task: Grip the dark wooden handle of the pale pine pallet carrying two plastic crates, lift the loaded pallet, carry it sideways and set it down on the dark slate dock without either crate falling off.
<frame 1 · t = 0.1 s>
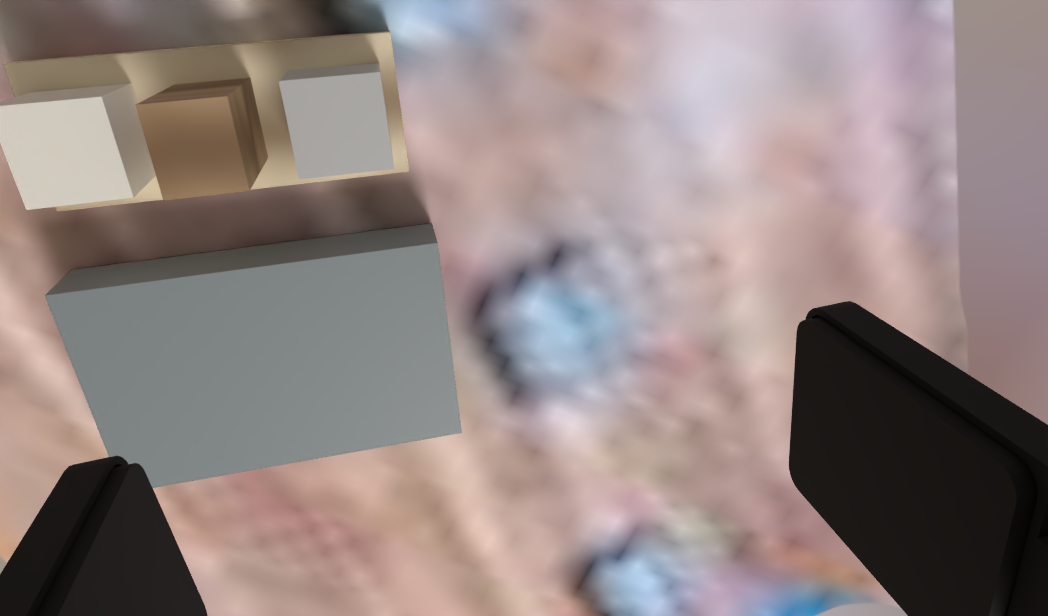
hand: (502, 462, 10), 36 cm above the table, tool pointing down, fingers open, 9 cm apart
crate A: (96, 134, 38), point 1 cm above the table
pallet: (229, 116, 41), on the table, touching crate B
crate B: (342, 111, 41), point 1 cm above the table, touching pallet
dock: (282, 342, 47), on the table
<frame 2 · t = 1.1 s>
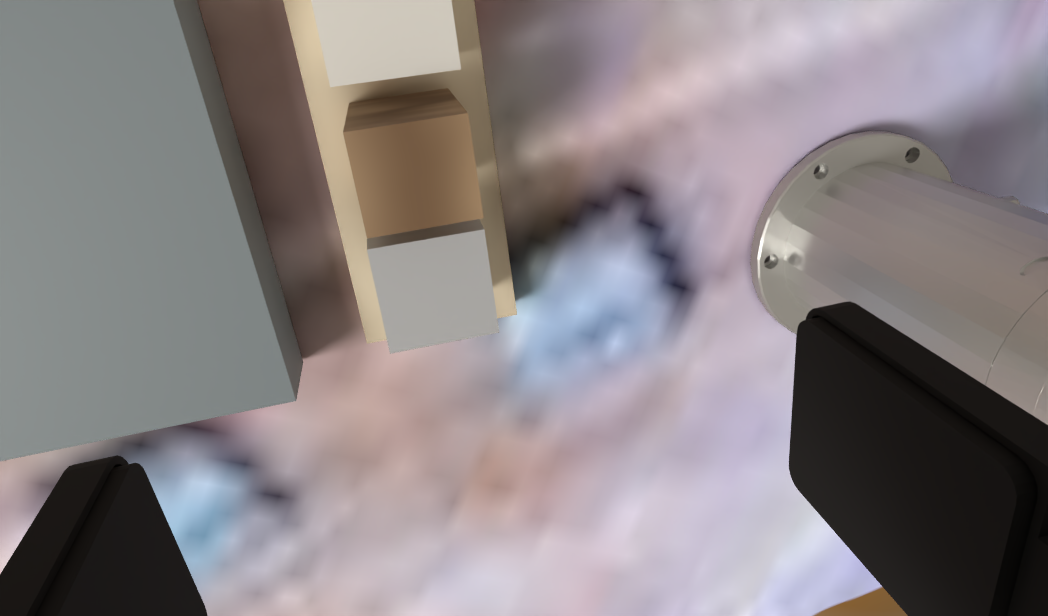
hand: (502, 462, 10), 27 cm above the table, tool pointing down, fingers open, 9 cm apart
crate A: (381, 4, 30), point 1 cm above the table
pallet: (405, 131, 34), on the table, touching crate B
crate B: (427, 254, 35), point 1 cm above the table, touching pallet
dock: (86, 184, 32), on the table
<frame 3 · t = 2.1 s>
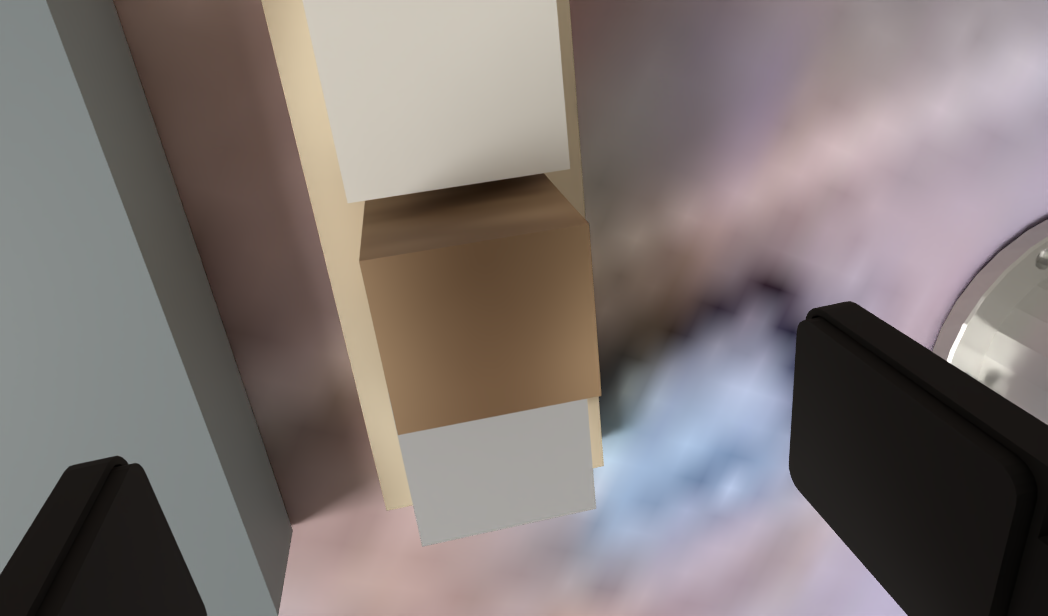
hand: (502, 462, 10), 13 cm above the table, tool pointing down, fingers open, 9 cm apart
crate A: (429, 51, 19), point 1 cm above the table, touching pallet
pallet: (450, 207, 23), on the table, touching crate A, crate B
crate B: (476, 366, 23), point 1 cm above the table, touching pallet
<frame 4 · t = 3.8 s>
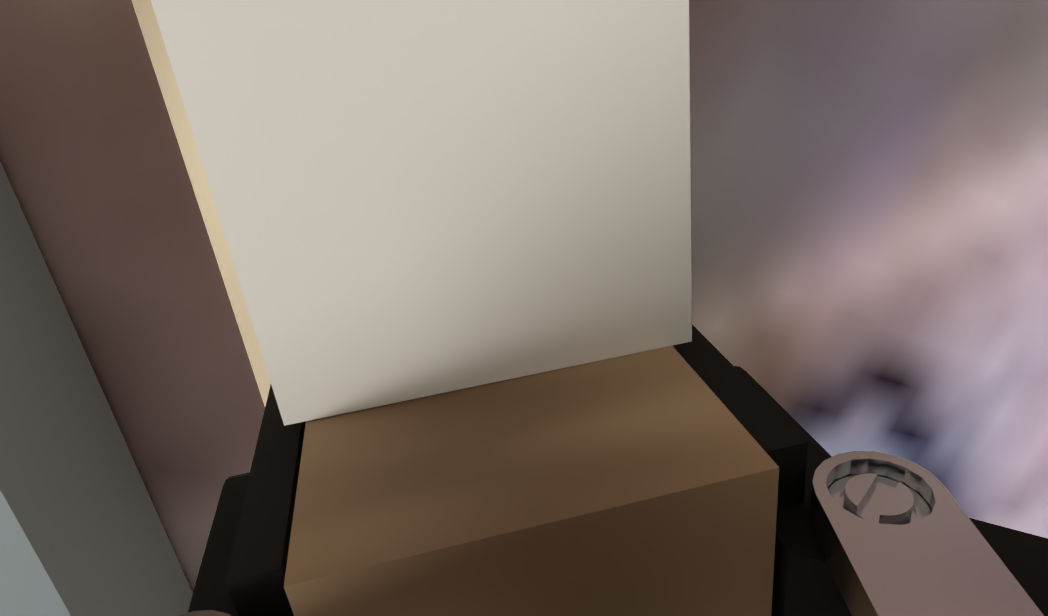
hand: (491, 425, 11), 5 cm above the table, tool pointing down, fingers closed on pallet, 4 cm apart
crate A: (427, 108, 12), point 2 cm above the table, touching pallet
pallet: (454, 302, 15), on the table, touching crate A, crate B, gripper
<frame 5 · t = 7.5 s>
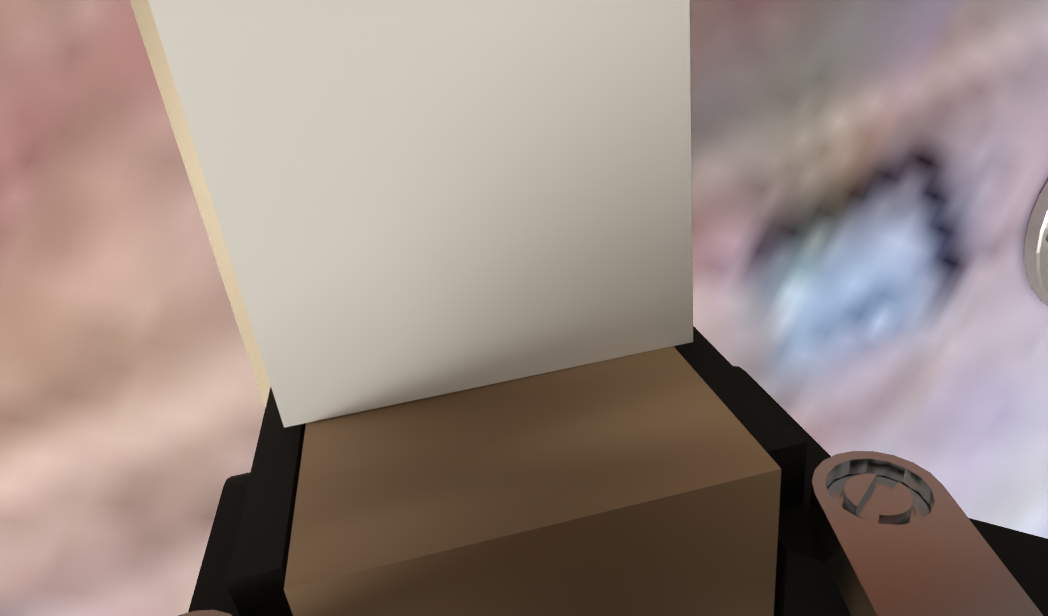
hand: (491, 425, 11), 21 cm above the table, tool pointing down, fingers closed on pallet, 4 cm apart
crate A: (426, 108, 12), point 18 cm above the table, touching pallet
pallet: (454, 303, 15), point 16 cm above the table, touching crate A, crate B, gripper
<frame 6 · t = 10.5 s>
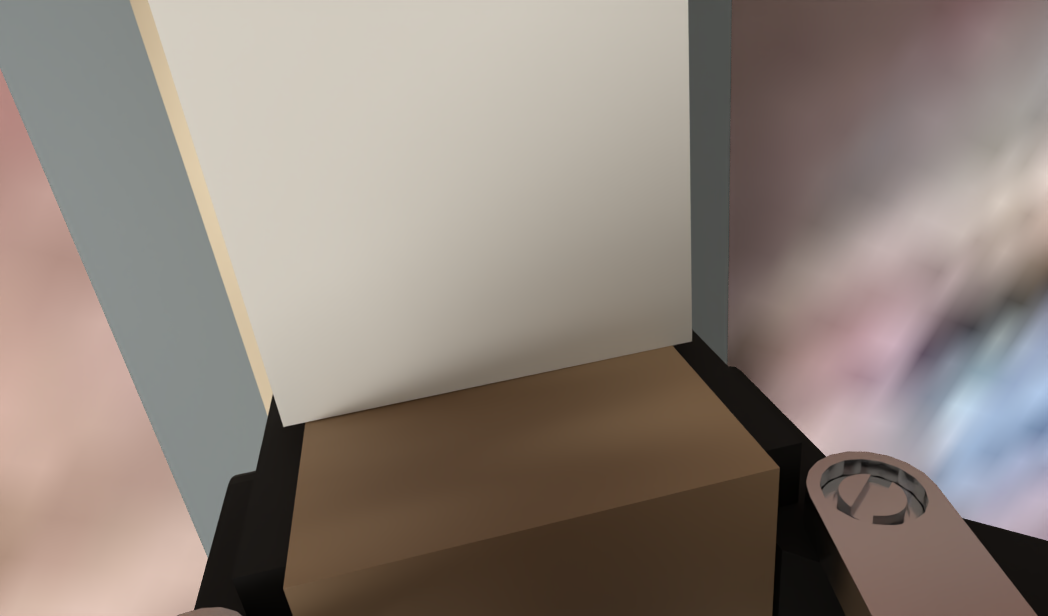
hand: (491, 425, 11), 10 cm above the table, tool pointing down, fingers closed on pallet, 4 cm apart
crate A: (426, 108, 12), point 7 cm above the table, touching pallet
pallet: (454, 302, 15), point 5 cm above the table, touching crate A, crate B, gripper
dock: (427, 231, 19), on the table
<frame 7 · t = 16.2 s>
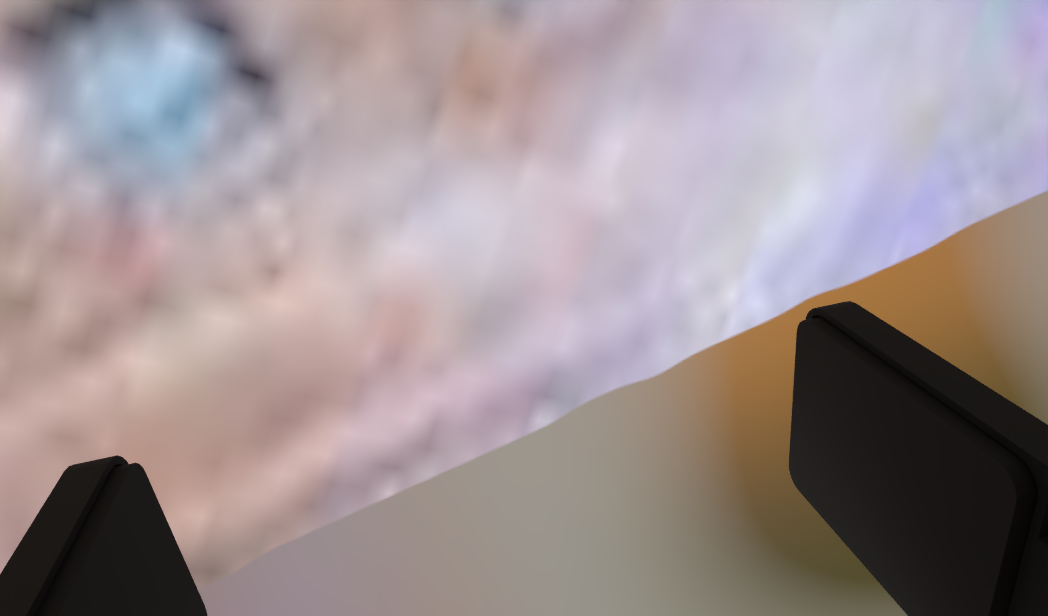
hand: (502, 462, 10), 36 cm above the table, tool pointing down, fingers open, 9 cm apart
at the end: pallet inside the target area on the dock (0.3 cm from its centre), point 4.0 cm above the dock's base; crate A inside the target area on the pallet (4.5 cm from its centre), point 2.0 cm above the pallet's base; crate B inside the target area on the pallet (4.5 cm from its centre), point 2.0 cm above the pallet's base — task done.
